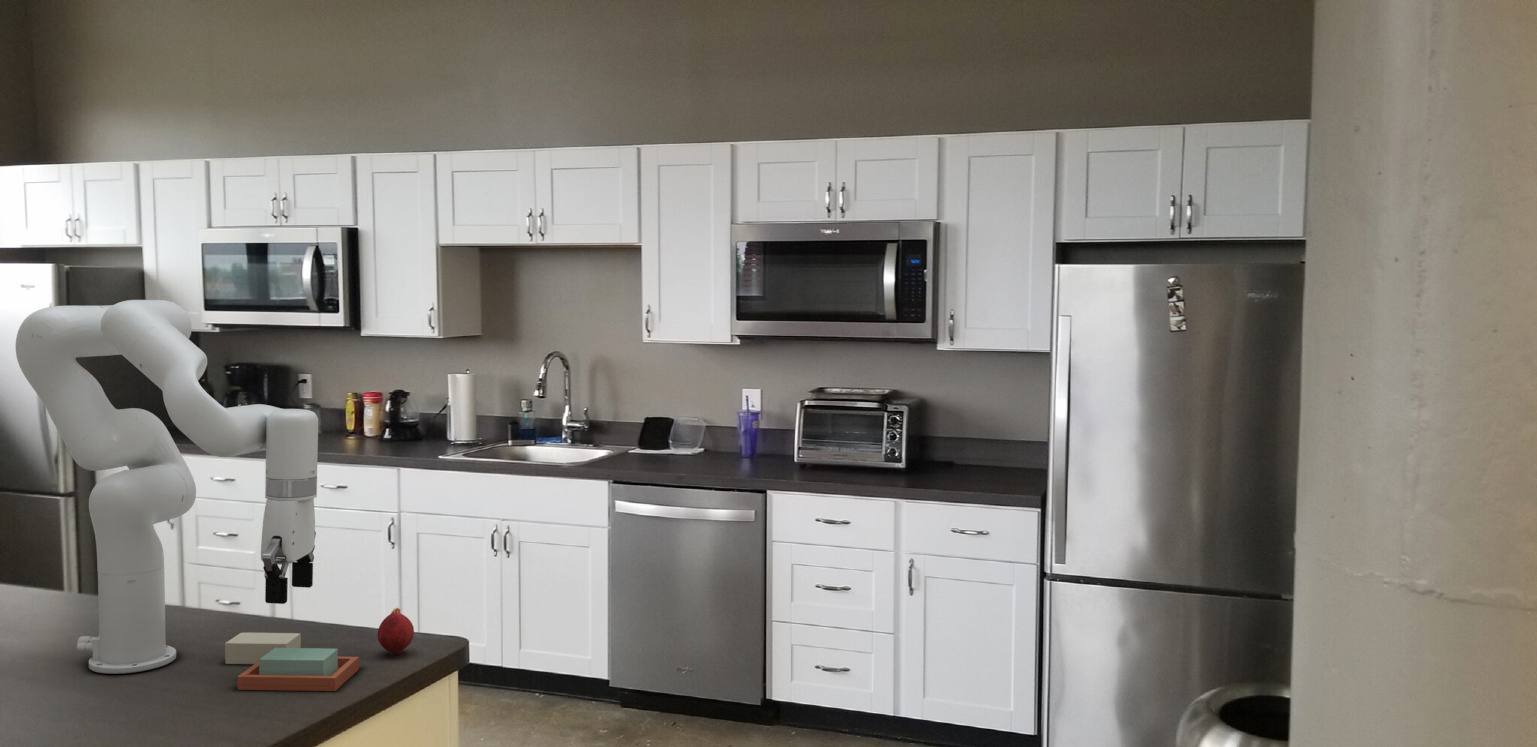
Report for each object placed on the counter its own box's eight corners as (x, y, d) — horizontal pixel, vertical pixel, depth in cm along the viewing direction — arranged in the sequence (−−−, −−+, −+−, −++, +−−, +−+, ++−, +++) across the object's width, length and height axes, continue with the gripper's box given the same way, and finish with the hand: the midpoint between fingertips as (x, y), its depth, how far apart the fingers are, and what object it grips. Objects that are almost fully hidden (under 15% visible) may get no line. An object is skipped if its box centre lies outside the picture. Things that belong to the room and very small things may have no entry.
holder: (237, 689, 177) (237, 676, 177) (266, 667, 188) (266, 655, 188) (335, 691, 178) (335, 677, 177) (359, 669, 188) (359, 656, 188)
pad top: (225, 663, 190) (224, 642, 189) (241, 652, 196) (241, 632, 195) (286, 664, 190) (286, 643, 189) (300, 653, 196) (300, 633, 195)
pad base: (259, 681, 180) (258, 659, 179) (275, 668, 186) (275, 647, 185) (323, 682, 180) (323, 660, 179) (338, 669, 186) (337, 648, 185)
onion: (402, 661, 192) (402, 613, 192) (371, 658, 193) (370, 611, 193) (420, 650, 198) (419, 604, 197) (389, 648, 199) (388, 602, 199)
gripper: (290, 477, 191) (288, 579, 192) (242, 496, 174) (240, 608, 175) (336, 480, 191) (333, 582, 192) (292, 498, 174) (290, 610, 175)
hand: (289, 594), depth 183 cm, fingers open, 9 cm apart
